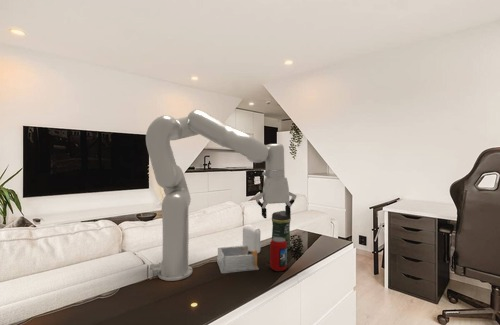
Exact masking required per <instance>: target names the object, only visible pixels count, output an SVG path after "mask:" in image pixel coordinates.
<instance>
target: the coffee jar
mask: <svg viewBox="0 0 500 325" xmlns="http://www.w3.org/2000/svg"><path fill="white" fill-rule="evenodd" d="M291 215H292V214H290V217H288V216H286V215H285V210H280V211H275V212H273V213H272V214H271V222H272V228H271V230H272V231H271V239H272V238H274V237H282V238H285V240H286V242H287V250H289V249H290V248H291V233H290V232H291V229H290V228H291V221H292V220H291Z"/></svg>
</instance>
